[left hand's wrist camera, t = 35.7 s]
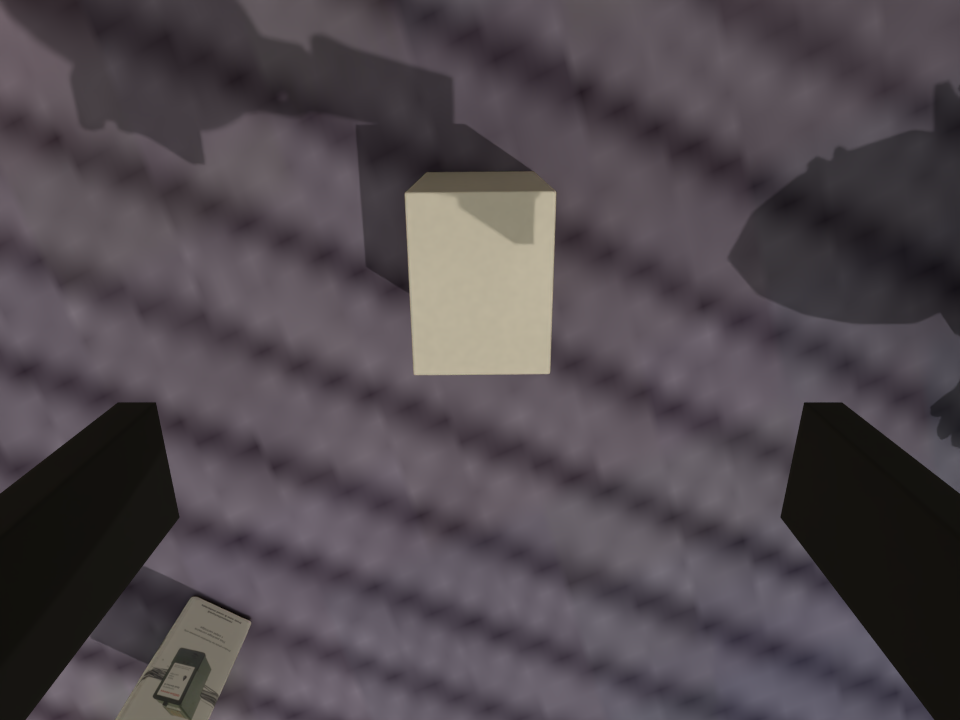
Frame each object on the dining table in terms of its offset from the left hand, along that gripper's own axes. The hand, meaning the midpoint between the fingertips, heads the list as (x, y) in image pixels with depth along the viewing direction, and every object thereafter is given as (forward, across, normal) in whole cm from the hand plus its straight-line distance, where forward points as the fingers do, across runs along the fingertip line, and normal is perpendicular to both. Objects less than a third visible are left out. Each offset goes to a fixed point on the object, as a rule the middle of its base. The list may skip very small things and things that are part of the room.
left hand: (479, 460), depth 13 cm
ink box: (+25, +21, +30) cm, 44 cm away
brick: (+25, 0, 0) cm, 25 cm away
